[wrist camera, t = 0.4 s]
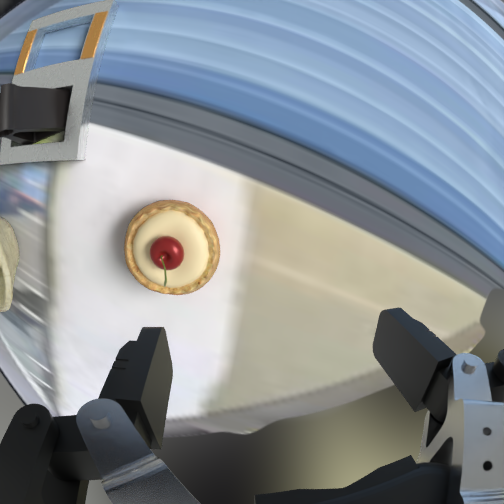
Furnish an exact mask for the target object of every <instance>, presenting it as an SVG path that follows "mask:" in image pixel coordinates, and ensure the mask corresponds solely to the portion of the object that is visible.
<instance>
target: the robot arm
mask: <svg viewBox="0 0 504 504" xmlns="http://www.w3.org/2000/svg"><path fill="white" fill-rule="evenodd" d="M373 353H374V356H375V358H376V359H377V361H378V362H379V363H380V365H381V366H382V368H383V369H384V370H385V372H386V373H387V374H388V376H389V377H390V378H391V380H392V381H393V382H394V384H395V385H396V387H397V388H398V389H399V391H400V392H401V393H402V395H403V396H404V398H405V399H406V400H407V402H408V403H409V405H410V406H411V407H412V409H413V410H414V412H416V411H419V410H422V409H424V408H426V407H427V409H428V412H427V414H426V416H425V423H424V431H423V437H422V443H421V450H420V454H419V457H418V460H417V462H416V463H415V461H414V459H413V458H412V456H411V455H410V456H408V457H406V458H403V459H401V460H398V461H396V462H393V463H390V464H388V465H385V466H382V467H380V468H378V469H376V470H375V471H373V472H372V473H370V474H368V475H367V476H365V477H363V478H361V479H360V480H358V481H356V482H355V483H353V484H351V485H349V486H347V487H345V488H339V489H297V490H290V491H284V492H277V493H270V494H260V495H254V498H255V504H504V349H503V350H501V351H500V352H499V353H498V356H497V358H496V360H495V362H492V363H484V362H483V361H482V360H481V359H480V358H479V357H477V356H475V355H472V354H468V353H461V354H458V355H456V354H455V353H454V352H453V351H452V350H451V349H450V348H449V347H448V346H447V345H446V344H445V343H444V342H442V341H441V340H440V339H439V338H438V337H436V335H435V334H434V333H433V332H431V331H429V329H428V328H427V327H426V326H425V325H424V324H423V323H421V322H419V321H417V320H415V319H413V318H412V317H411V316H409V315H408V314H407V313H406V312H405V311H404V310H403V309H401V308H393V309H387V310H383V311H382V312H381V313H380V315H379V320H378V324H377V329H376V333H375V337H374V342H373ZM172 376H173V369H172V361H171V356H170V351H169V346H168V341H167V336H166V331H165V329H164V327H143V328H142V329H141V332H140V334H139V337H138V339H137V341H129V342H127V343H126V344H125V345H124V346H123V347H122V348H121V349H120V350H119V352H118V355H117V357H116V361H114V363H113V366H112V369H111V370H110V372H109V375H108V377H107V379H106V381H105V384H104V386H103V388H102V391H101V393H100V396H99V398H98V399H95V400H92V401H89V402H87V403H86V404H84V405H83V406H82V407H81V408H80V409H79V411H78V413H77V415H72V416H59V417H52V415H51V414H50V412H49V410H48V409H47V408H46V407H44V406H42V405H40V404H29V405H26V406H24V407H22V408H20V409H19V410H18V411H17V412H16V414H15V415H14V417H13V419H12V421H11V423H10V425H9V427H8V429H7V431H6V433H5V435H4V437H3V439H2V441H1V444H0V504H85V500H86V495H87V488H88V484H89V480H98V479H103V481H102V486H103V488H104V490H105V492H106V494H107V496H108V497H109V499H110V501H111V502H112V504H200V503H199V502H198V501H197V500H196V499H195V498H194V497H193V496H192V495H191V494H190V493H189V491H188V490H187V489H186V488H185V487H184V486H183V485H182V484H181V483H180V481H179V480H178V479H177V478H176V477H175V476H174V474H173V473H172V472H171V471H170V470H169V469H168V467H167V466H166V465H165V464H164V463H163V461H162V460H161V459H160V458H157V457H156V456H155V455H154V454H153V452H152V451H151V450H150V449H161V448H162V440H163V434H164V427H165V420H166V413H167V407H168V401H169V395H170V389H171V383H172Z"/></svg>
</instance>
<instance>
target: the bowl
mask: <svg viewBox="0 0 504 504" xmlns="http://www.w3.org/2000/svg"><path fill="white" fill-rule="evenodd" d="M18 261H19V247H18V243H17V239H16V237H15V234H14V231H13V229H12V227H11V225H10V224H9V223H8V222H7V221H6V220H5V219H4V218H1V217H0V312H5V311H7V310H8V309H10V305H11V302H12V298H13V284H14V277H15V274H16V268H17V266H18Z"/></svg>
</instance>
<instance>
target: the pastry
mask: <svg viewBox="0 0 504 504" xmlns="http://www.w3.org/2000/svg"><path fill="white" fill-rule="evenodd" d="M124 250H125V260H126V264H127V266H128V268H129V270H130V272H131V273H132V275H133V276H134V277H135V279H136V280H137V281H138V282H139V283H140V284H142V285H143V286H145V287H146V288H148V289H150V290H153V291H156V292H159V293H162V294H172V295H183V294H189V293H192V292H194V291H197V290H198V289H200V288H201V287H203V286H204V285H205V284H206V283H207V282H208V281H209V280H210V279H211V277H212V276H213V274H214V272H215V271H216V269H217V266H218V262H219V258H220V245H219V239H218V236H217V233H216V230H215V228H214V225H213V223H212V222H211V220H210V219H209V218H208V217H207V216H206V215H205V214H204V213H203V212H202V211H201V210H199V209H198V208H196V207H195V206H193V205H192V204H190V203H187V202H183V201H176V200H163V201H157V202H154V203H152V204H150V205H148V206H146V207H144V208H143V209H141V210H140V211H139V212H138V213H137V214H136V215H135V217H134V218H133V219H132V220H131V222H130V224H129V226H128V229H127V233H126V237H125V245H124Z"/></svg>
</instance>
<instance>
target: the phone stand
mask: <svg viewBox="0 0 504 504" xmlns="http://www.w3.org/2000/svg"><path fill="white" fill-rule="evenodd" d="M69 104H70V90H63V89H53V88H40V87H22V86H17V85H15V84H4V85H2V86H1V93H0V137H4V138H8V139H10V140H12V141H15V142H17V143H20V144H22V145H32V144H34V143H36V142H38V141H41V140H43V139H45V138H47V137H50V136H52V135H55V134H57V133H60V132H62V131H65V129H66V122H67V116H68V110H69Z"/></svg>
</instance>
